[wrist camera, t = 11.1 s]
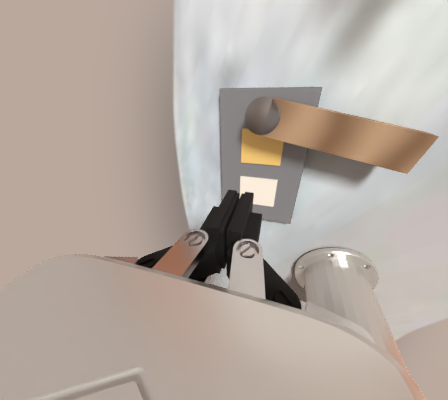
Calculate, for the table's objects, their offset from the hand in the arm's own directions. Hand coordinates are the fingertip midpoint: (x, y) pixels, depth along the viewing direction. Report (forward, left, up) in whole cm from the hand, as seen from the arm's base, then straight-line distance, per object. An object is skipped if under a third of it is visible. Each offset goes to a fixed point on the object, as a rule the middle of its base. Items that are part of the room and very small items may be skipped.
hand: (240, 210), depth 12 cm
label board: (-2, +1, -15) cm, 15 cm away
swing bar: (+1, -7, -12) cm, 14 cm away
